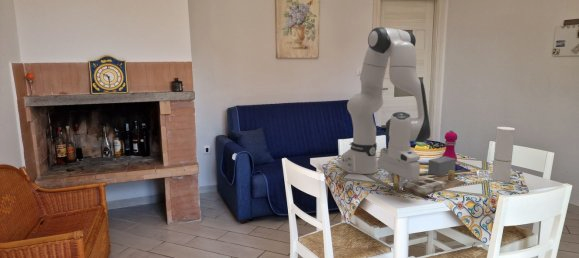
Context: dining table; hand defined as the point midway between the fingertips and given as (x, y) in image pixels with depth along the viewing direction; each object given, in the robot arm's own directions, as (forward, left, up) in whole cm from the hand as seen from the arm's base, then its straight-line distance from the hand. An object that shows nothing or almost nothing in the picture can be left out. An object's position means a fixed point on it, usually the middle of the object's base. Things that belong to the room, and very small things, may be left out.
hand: (396, 184), depth 170 cm
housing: (-5, +36, -4) cm, 37 cm away
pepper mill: (-12, +51, -4) cm, 53 cm away
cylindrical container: (+16, +50, -4) cm, 53 cm away
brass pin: (0, 0, -2) cm, 2 cm away
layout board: (+5, +19, -4) cm, 20 cm away
